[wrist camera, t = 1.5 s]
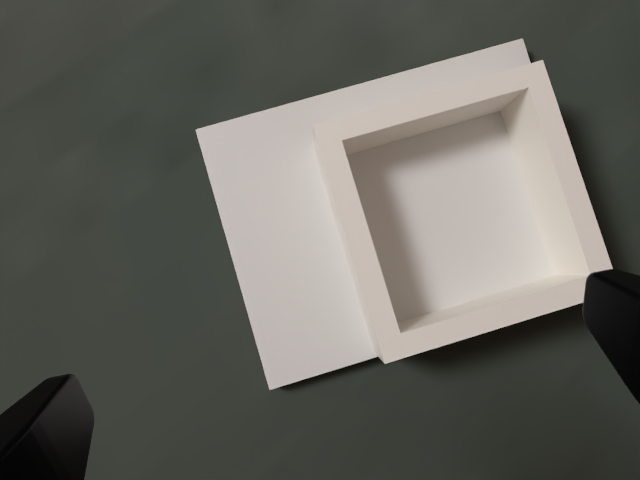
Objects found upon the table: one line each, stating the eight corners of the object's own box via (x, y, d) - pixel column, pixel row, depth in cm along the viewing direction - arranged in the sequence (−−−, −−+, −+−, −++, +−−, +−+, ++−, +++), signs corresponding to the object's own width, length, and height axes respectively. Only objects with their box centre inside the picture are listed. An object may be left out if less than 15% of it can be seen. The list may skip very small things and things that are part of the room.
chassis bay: (593, 285, 24) (649, 288, 20) (271, 385, 23) (264, 407, 19) (514, 47, 25) (553, 5, 21) (199, 135, 24) (179, 108, 20)
